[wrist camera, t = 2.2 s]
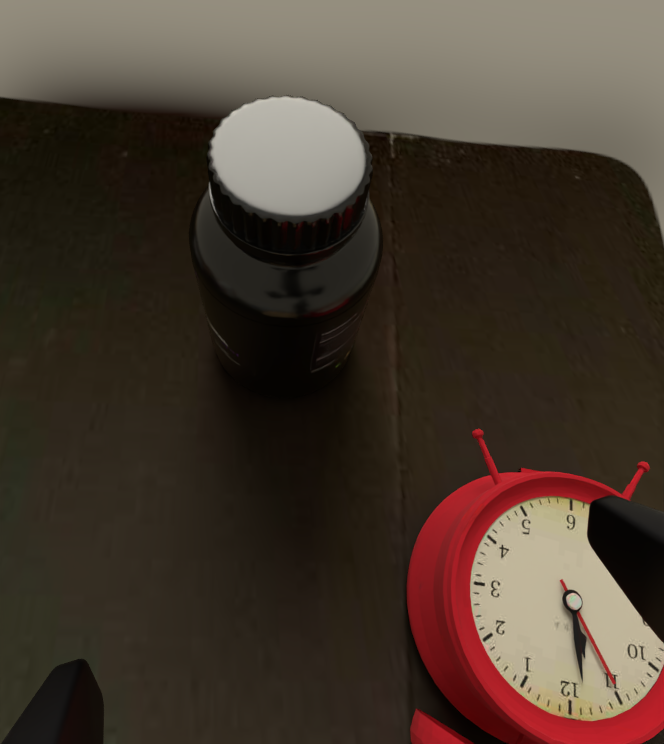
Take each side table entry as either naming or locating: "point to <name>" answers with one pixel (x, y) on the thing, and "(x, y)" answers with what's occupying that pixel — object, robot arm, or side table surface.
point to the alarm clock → (530, 617)
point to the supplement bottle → (285, 243)
